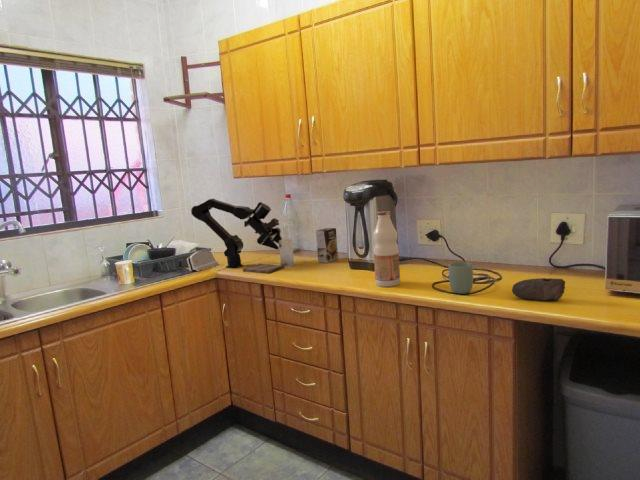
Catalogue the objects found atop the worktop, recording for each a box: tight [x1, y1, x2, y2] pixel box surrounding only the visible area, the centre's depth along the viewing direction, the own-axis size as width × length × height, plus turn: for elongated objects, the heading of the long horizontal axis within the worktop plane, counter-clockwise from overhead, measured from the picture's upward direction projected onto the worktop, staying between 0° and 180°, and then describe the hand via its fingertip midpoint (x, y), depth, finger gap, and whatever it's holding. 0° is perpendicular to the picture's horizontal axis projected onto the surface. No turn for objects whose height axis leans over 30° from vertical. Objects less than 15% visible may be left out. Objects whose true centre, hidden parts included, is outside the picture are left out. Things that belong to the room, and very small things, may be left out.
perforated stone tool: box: [511, 277, 566, 302], centre depth 140 cm, size 15×5×7 cm, turn 61°
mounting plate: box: [242, 263, 285, 275], centre depth 216 cm, size 16×12×1 cm
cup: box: [448, 261, 474, 295], centre depth 153 cm, size 8×8×10 cm
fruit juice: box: [372, 210, 401, 288], centre depth 170 cm, size 9×9×28 cm
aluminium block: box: [278, 238, 295, 268], centre depth 220 cm, size 5×5×13 cm
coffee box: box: [315, 227, 339, 264], centre depth 223 cm, size 9×6×16 cm
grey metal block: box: [186, 250, 219, 272], centre depth 232 cm, size 17×5×10 cm, turn 152°
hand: (281, 247), depth 220 cm, fingers open, 9 cm apart
